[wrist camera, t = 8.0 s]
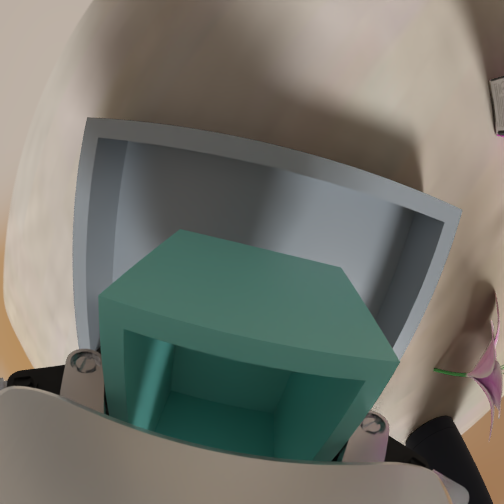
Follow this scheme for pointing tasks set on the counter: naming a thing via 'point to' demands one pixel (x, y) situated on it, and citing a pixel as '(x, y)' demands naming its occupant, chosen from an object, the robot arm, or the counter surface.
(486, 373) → the lily
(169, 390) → the teal crate
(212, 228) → the gray crate
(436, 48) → the counter surface
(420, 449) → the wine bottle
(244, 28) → the counter surface
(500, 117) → the candy bar box
